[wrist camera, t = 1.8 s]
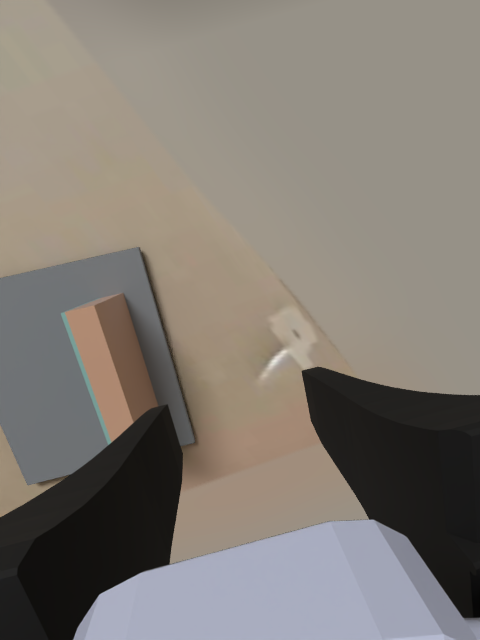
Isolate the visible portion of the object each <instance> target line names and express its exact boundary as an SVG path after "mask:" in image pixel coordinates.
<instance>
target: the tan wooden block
mask: <svg viewBox="0 0 480 640" xmlns="http://www.w3.org/2000/svg"><path fill="white" fill-rule="evenodd" d="M61 316H62V319H63V322H64V324H65V327H66V330H67V333H68V335H69V338H70V341H71V344H72V346H73V349H74V352H75V355H76V357H77V360H78V363H79V366H80V368H81V371H82V374H83V377H84V379H85V382H86V385H87V388H88V390H89V393H90V396H91V399H92V401H93V404H94V407H95V410H96V412H97V415H98V418H99V421H100V423H101V426H102V429H103V432H104V434H105V437H106V440H107V443H108V445H109V444H110V443H111V442H113V441H114V440H115V439H116V438H117V437H118V436H120V435H121V434H122V433H123V432H124V431H125V430H126V429H127V428H128V427H129V426H130V425H132V424H133V423H134V422H135V421H136V420H137V419H138V418H139V417H140V416H141V415H143V414H144V413H145V412H146V411H148V410H149V409H151V408H154V407H158V403H157V400H156V397H155V393H154V390H153V387H152V384H151V381H150V377H149V374H148V371H147V368H146V364H145V361H144V358H143V355H142V352H141V348H140V345H139V342H138V339H137V336H136V332H135V329H134V326H133V323H132V319H131V316H130V313H129V310H128V307H127V303H126V300H125V297H124V294H123V293H120V294H116V295H111V296H107V297H103V298H98V299H96V300H93V301H91V302H88V303H85V304H83V305H80V306H78V307H75V308H73V309H70V310H68V311H65V312H62V313H61Z"/></svg>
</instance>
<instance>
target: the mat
mask: <svg viewBox="0 0 480 640" xmlns="http://www.w3.org/2000/svg"><path fill="white" fill-rule="evenodd" d="M120 293H123V294H124V297H125V300H126V303H127V307H128V310H129V313H130V316H131V319H132V323H133V326H134V329H135V332H136V336H137V339H138V342H139V345H140V348H141V352H142V355H143V358H144V361H145V364H146V368H147V371H148V374H149V377H150V381H151V384H152V387H153V390H154V393H155V397H156V400H157V403H158V406H162V405H166V404H168V407H169V410H170V413H171V417H172V420H173V423H174V427H175V430H176V433H177V437H178V440H179V443H180V446H184V445H188V444H192V443H195V437H194V434H193V430H192V427H191V423H190V420H189V416H188V413H187V409H186V406H185V403H184V399H183V396H182V392H181V389H180V385H179V382H178V378H177V375H176V371H175V368H174V364H173V361H172V358H171V354H170V351H169V347H168V344H167V340H166V337H165V333H164V330H163V326H162V323H161V319H160V316H159V313H158V309H157V306H156V302H155V299H154V295H153V292H152V288H151V285H150V281H149V278H148V274H147V271H146V268H145V264H144V261H143V257H142V254H141V250H140V247H137V248H132V249H128V250H124V251H119V252H115V253H110V254H106V255H101V256H97V257H92V258H88V259H84V260H79V261H75V262H70V263H66V264H61V265H57V266H52V267H48V268H44V269H39V270H35V271H30V272H26V273H21V274H17V275H12V276H8V277H4V278H0V425H1V427H2V429H3V431H4V434H5V436H6V438H7V440H8V443H9V445H10V447H11V449H12V452H13V454H14V456H15V458H16V461H17V463H18V465H19V467H20V470H21V472H22V474H23V476H24V478H25V481H26V483H27V485H31V484H35V483H39V482H43V481H46V480H50V479H54V478H58V477H62V476H66V475H70V474H72V473H74V472H75V471H76V470H78V469H79V468H81V467H82V466H83V465H85V464H86V463H87V462H89V461H90V460H91V459H92V458H94V457H95V456H96V455H97V454H99V453H100V452H101V451H102V450H103V449H104V448H106V447H107V446H108V443H107V440H106V437H105V434H104V432H103V429H102V426H101V423H100V421H99V418H98V415H97V412H96V410H95V407H94V404H93V401H92V399H91V396H90V393H89V390H88V388H87V385H86V382H85V379H84V377H83V374H82V371H81V368H80V366H79V363H78V360H77V357H76V355H75V352H74V349H73V346H72V344H71V341H70V338H69V335H68V333H67V330H66V327H65V324H64V322H63V319H62V316H61V313H62V312H65V311H68V310H70V309H73V308H75V307H78V306H80V305H83V304H85V303H88V302H91V301H93V300H96V299H98V298H103V297H107V296H111V295H116V294H120Z"/></svg>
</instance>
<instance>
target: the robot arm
mask: <svg viewBox="0 0 480 640" xmlns="http://www.w3.org/2000/svg"><path fill="white" fill-rule="evenodd" d="M302 376H303V381H304V386H305V392H306V397H307V402H308V407H309V413H310V418H311V422H312V424H313V426H314V428H315V430H316V432H317V435H318V437H319V439H320V441H321V443H322V444H323V446H324V448H325V449H326V450H327V452H328V454H329V455H330V457H331V458H332V460H333V462H334V463H335V465H336V466H337V467H338V469H339V470H340V472H341V474H342V475H343V477H344V478H345V480H346V481H347V483H348V484H349V486H350V487H351V489H352V490H353V492H354V493H355V495H356V497H357V498H358V500H359V502H360V503H361V505H362V507H363V508H364V510H365V512H366V514H367V516H368V518H369V520H346V521H328V522H324V523H320V524H316V525H313V526H309V527H305V528H302V529H298V530H294V531H291V532H287V533H283V534H279V535H276V536H272V537H268V538H265V539H262V540H258V541H254V542H250V543H246V544H243V545H240V546H235V547H232V548H228V549H225V550H221V551H217V552H214V553H210V554H206V555H202V556H199V557H195V558H191V559H187V560H184V561H180V562H176V563H173V564H169V563H170V554H171V546H172V540H173V533H174V526H175V521H176V515H177V509H178V503H179V497H180V490H181V484H182V467H183V453H182V450H181V446H180V443H179V440H178V437H177V433H176V430H175V427H174V423H173V420H172V417H171V413H170V410H169V407H168V404H166V405H162V406H158V407H154V408H151V409H149V410H148V411H146V412H145V413H144V414H143V415H141V416H140V417H139V418H138V419H137V420H136V421H135V422H134V423H133V424H132V425H130V426H129V427H128V428H127V429H126V430H125V431H124V432H123V433H122V434H121V435H120V436H118V437H117V438H116V439H115V440H114V441H113V442H111V443H110V444H109V445H108V446H107V447H106V448H104V449H103V450H102V451H101V452H100V453H99V454H97V455H96V456H95V457H94V458H92V459H91V460H90V461H89V462H87V463H86V464H85V465H83V466H82V467H81V468H79V469H78V470H76V471H75V472H74V473H72V474H71V475H69V476H68V477H67V478H65V479H64V480H62V481H61V482H59V483H58V484H56V485H54V486H53V487H51V488H50V489H48V490H46V491H45V492H43V493H42V494H40V495H38V496H37V497H35V498H34V499H32V500H30V501H29V502H27V503H25V504H24V505H22V506H20V507H18V508H17V509H15V510H13V511H11V512H9V513H8V514H6V515H4V516H2V517H0V640H480V395H452V394H439V393H427V392H419V391H412V390H406V389H400V388H394V387H389V386H384V385H380V384H376V383H372V382H367V381H364V380H361V379H357V378H354V377H351V376H348V375H345V374H341V373H338V372H335V371H332V370H329V369H326V368H322V367H315V368H311V369H307V370H303V371H302Z"/></svg>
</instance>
